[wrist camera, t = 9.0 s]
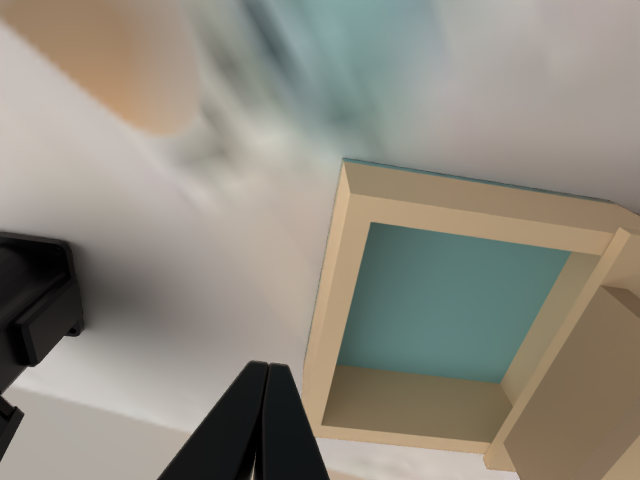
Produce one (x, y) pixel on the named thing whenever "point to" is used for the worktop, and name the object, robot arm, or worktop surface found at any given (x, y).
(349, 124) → the worktop surface
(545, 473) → the lid
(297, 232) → the worktop surface
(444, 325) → the mailer box
